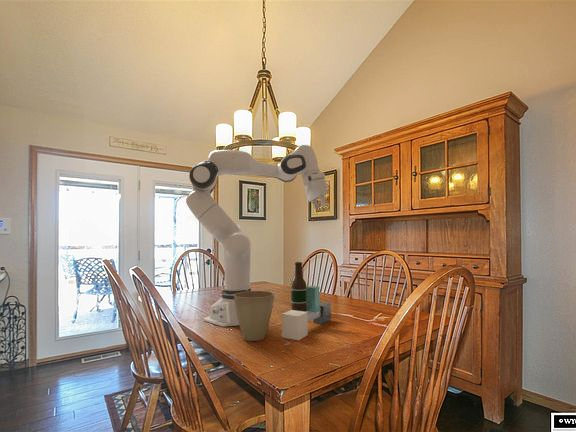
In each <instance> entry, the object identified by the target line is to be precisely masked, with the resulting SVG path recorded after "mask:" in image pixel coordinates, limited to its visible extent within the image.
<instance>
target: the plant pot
mask: <svg viewBox="0 0 576 432" xmlns="http://www.w3.org/2000/svg"><path fill="white" fill-rule="evenodd" d="M274 299H275V292H273V291H266V290H251V291H246V292H239V293H235V294H234V300H235V307H236V313H237V317H238V321H239V325H238V326H239V328H240V332H241V335H242V336H243V339H244V340H246V341H248V342H258V341H261V340H264V339H265V336H266V333H267V330H268V327H269V324H270V321H271V316H272V312H273V306H274Z"/></svg>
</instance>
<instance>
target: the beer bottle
mask: <svg viewBox="0 0 576 432" xmlns="http://www.w3.org/2000/svg"><path fill="white" fill-rule="evenodd" d="M294 265H295V266H294V267H295V269H294V278H293V280H292V282H291V284H290V285H291V287H290V295H291V296H290V299H291V300H290V303H291V305H290V307H291V309H290V310H296V311H304V312H306V311H307V307H306V287H308V286H307V283H306V281H305V279H304V276H303V266H302V265H303V262H302V261H295V262H294Z"/></svg>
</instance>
